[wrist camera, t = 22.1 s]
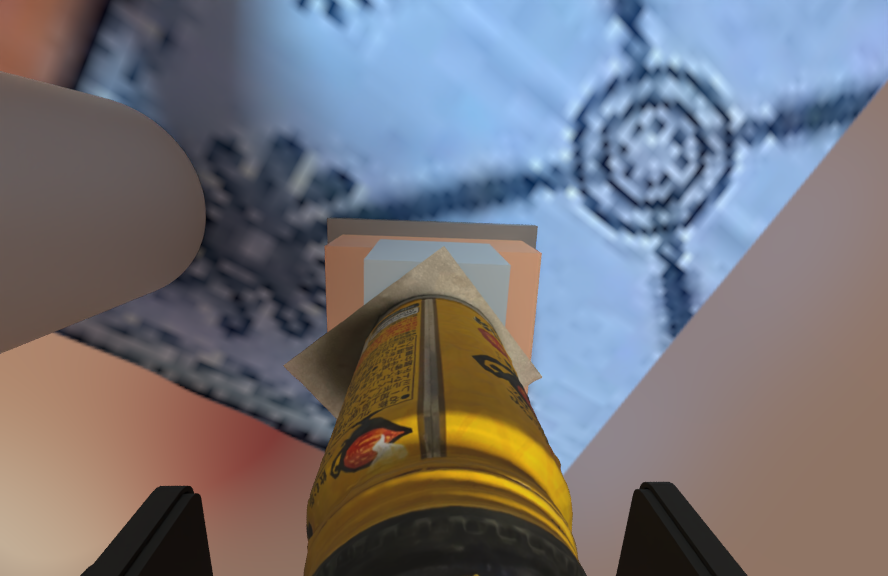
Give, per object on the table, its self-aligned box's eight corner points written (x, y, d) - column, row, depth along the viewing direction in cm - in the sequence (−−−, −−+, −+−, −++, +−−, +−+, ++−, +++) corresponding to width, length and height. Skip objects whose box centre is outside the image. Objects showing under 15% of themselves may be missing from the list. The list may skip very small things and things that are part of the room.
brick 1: (380, 239, 22) (363, 259, 17) (489, 243, 23) (510, 265, 17) (378, 403, 25) (363, 470, 19) (476, 405, 25) (491, 472, 19)
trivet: (329, 217, 28) (327, 218, 27) (534, 224, 28) (537, 226, 28) (334, 367, 30) (331, 372, 30) (520, 370, 31) (523, 375, 30)
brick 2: (345, 359, 29) (329, 394, 25) (342, 234, 27) (324, 245, 22) (510, 363, 30) (526, 397, 25) (521, 240, 28) (541, 253, 23)
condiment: (541, 374, 18) (741, 713, 7) (391, 475, 19) (337, 922, 8) (443, 244, 17) (484, 392, 5) (285, 362, 18) (11, 713, 6)
